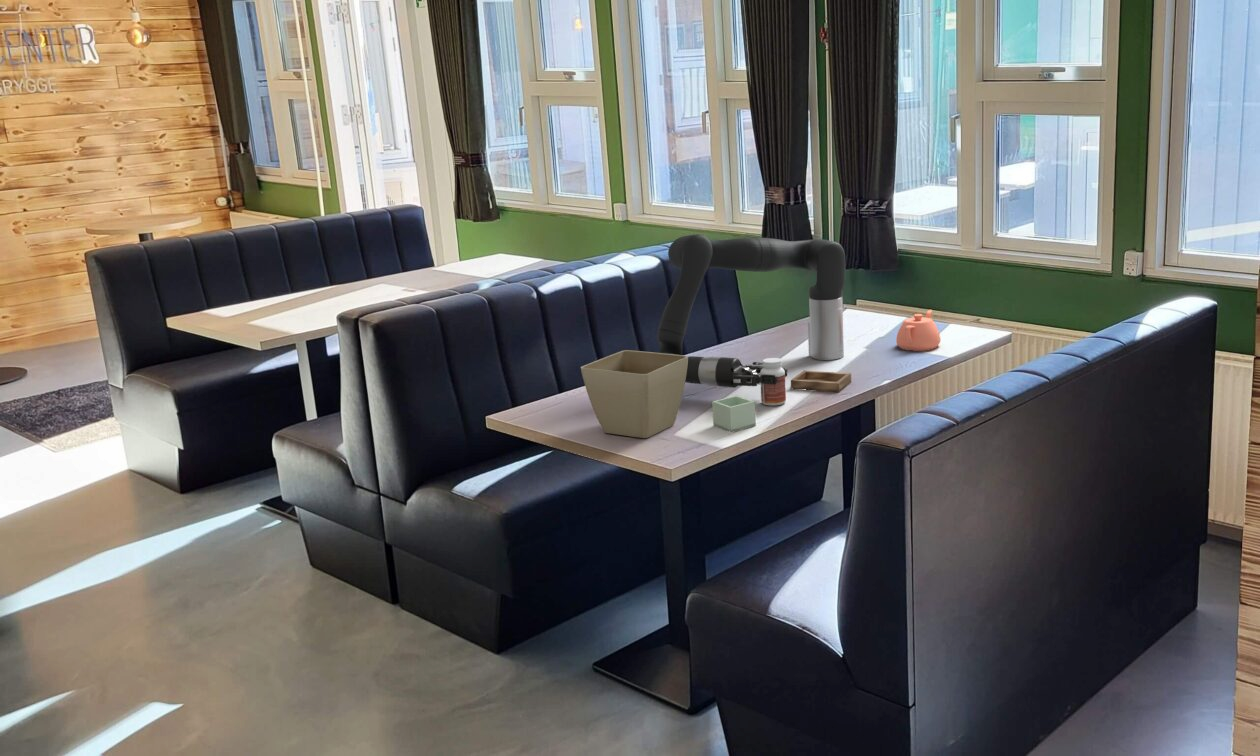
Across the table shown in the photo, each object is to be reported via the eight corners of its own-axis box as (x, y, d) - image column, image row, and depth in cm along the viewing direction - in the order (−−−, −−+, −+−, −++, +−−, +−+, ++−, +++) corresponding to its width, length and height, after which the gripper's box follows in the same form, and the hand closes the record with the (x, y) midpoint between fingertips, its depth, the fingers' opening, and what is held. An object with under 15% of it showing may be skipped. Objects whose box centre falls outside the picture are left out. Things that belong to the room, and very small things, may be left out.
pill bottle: (791, 402, 306) (789, 359, 303) (772, 407, 303) (770, 364, 300) (775, 397, 311) (773, 355, 308) (756, 402, 308) (754, 360, 305)
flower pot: (629, 413, 307) (624, 348, 303) (693, 422, 296) (690, 355, 292) (583, 435, 292) (578, 367, 288) (650, 445, 282) (645, 374, 277)
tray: (790, 389, 319) (790, 380, 318) (804, 379, 327) (804, 370, 327) (838, 392, 313) (838, 383, 312) (851, 382, 321) (851, 373, 320)
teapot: (886, 351, 350) (886, 319, 347) (912, 337, 364) (912, 306, 361) (927, 355, 343) (926, 322, 340) (951, 340, 357) (951, 309, 354)
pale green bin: (713, 425, 293) (712, 401, 291) (737, 419, 296) (736, 395, 295) (731, 432, 287) (730, 407, 285) (755, 425, 290) (754, 401, 289)
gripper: (707, 364, 305) (770, 369, 297) (730, 350, 317) (791, 354, 309) (709, 393, 307) (771, 398, 299) (732, 378, 319) (792, 383, 311)
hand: (781, 376), depth 304 cm, fingers closed on pill bottle, 6 cm apart
